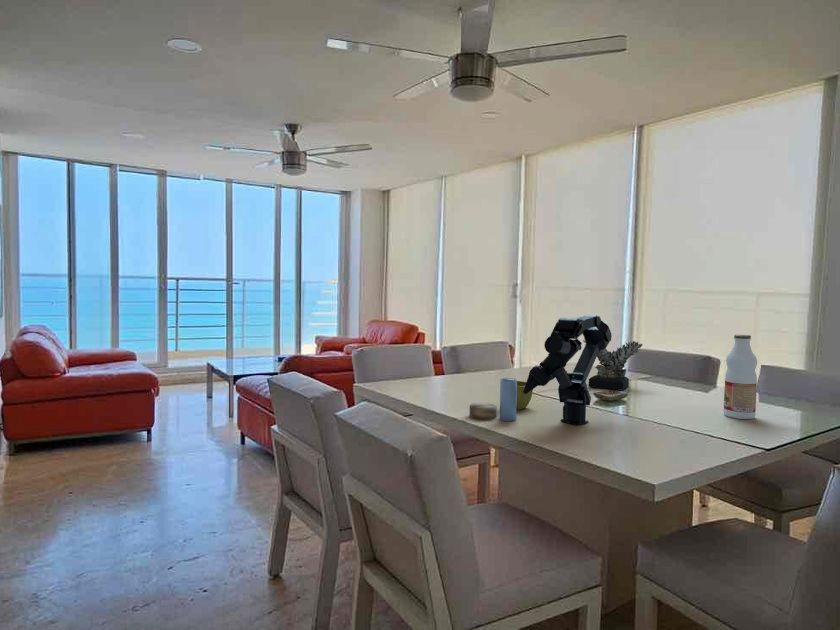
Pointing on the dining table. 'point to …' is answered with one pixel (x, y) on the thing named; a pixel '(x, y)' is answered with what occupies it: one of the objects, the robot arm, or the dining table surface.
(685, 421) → the dining table surface
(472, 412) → the grey-beige round disc
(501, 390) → the vase
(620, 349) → the coral
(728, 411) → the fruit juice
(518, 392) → the flower pot
